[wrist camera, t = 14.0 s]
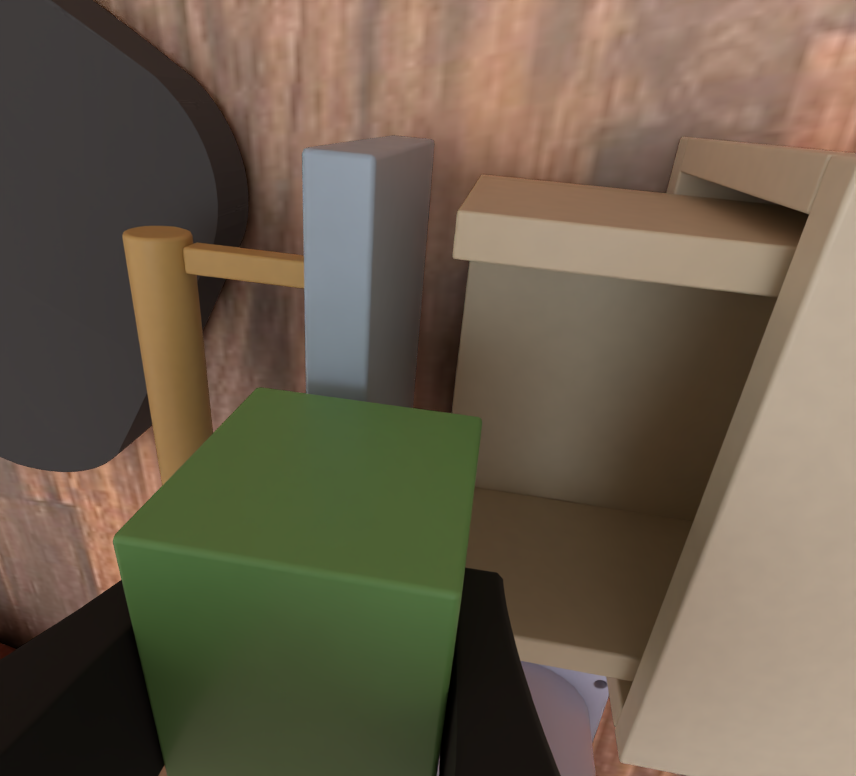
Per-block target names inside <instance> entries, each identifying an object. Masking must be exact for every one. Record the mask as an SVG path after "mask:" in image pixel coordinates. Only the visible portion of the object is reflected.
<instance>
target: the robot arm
mask: <svg viewBox="0 0 856 776" xmlns="http://www.w3.org/2000/svg"><path fill="white" fill-rule="evenodd" d="M608 697H609V691H608V685H607V678H606V676H600V675H595V674H589V673H584V672H579V671H573V670H568V669H562V668H557V667H551V666H546V665H541V664H535V663H530V662H524V661H520V657H519V654H518V650H517V647H516V643H515V639H514V635H513V631H512V627H511V623H510V619H509V614H508V609H507V604H506V598H505V592H504V584H503V578H502V577H501V576H500V575H499V574H498V573H497V572H490V571H484V570H478V569H472V568H466V567H465V573H464V582H463V590H462V598H461V605H460V612H459V620H458V627H457V634H456V641H455V648H454V656H453V663H452V670H451V677H450V684H449V692H448V699H447V706H446V713H445V720H444V728H443V735H442V742H441V749H440V756H439V764H438V771H437V776H596V773H595V764H594V756H593V747H592V742H593V740H594V737H595V734H596V731H597V728H598V725H599V723H600V720H601V717H602V714H603V711H604V708H605V706H606V703H607V700H608ZM163 767H164V760H163V756H162V752H161V747H160V743H159V739H158V734H157V730H156V726H155V721H154V717H153V713H152V709H151V704H150V700H149V696H148V691H147V687H146V683H145V678H144V674H143V670H142V665H141V661H140V657H139V653H138V648H137V644H136V640H135V635H134V631H133V627H132V622H131V618H130V614H129V609H128V605H127V601H126V597H125V592H124V588H123V584H122V580H121V581H119V582H118V583H116V584H115V585H114V586H112V587H111V588H109V589H108V590H106V591H105V592H103V593H102V594H100V595H99V596H98V597H96V598H95V599H93V600H92V601H90V602H89V603H87V604H86V605H84V606H83V607H82V608H80V609H79V610H77V611H76V612H74V613H72V614H71V615H69V616H68V617H66V618H65V619H63V620H62V621H60V622H58V623H57V624H55V625H54V626H52V627H51V628H49V629H47V630H46V631H44V632H43V633H41V634H40V635H38V636H37V637H35V638H33V639H32V640H30V641H29V642H27V643H26V644H24V645H23V646H21V647H19V648H18V649H16V650H15V651H13V652H12V653H10V654H8V655H7V656H5V657H4V658H2V659H0V776H159V774H160V772H161V770H162V769H163Z"/></svg>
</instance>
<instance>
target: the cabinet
mask: <svg viewBox="0 0 856 776" xmlns="http://www.w3.org/2000/svg"><path fill="white" fill-rule="evenodd" d="M666 193H668V194H678V195H687V196H697V197H707V198H716V199H726V200H736V201H745V202H755V203H765V204H774V205H782V206H785V207H788V208H791V209H794V210H797V211H800V212H803V213H806V214H809V216H808V219H807V222H806V224H805V227H804V229H803V232H802V235H801V237H800V240H799V243H798V245H797V248H796V251H795V253H794V256H793V259H792V261H791V264H790V267H789V269H788V272H787V275H786V277H785V280H784V283H783V285H782V288H781V290H780V293H779V296H778V298H777V301H776V304H775V306H774V309H773V312H772V314H771V317H770V320H769V322H768V325H767V328H766V330H765V333H764V336H763V338H762V341H761V344H760V346H759V349H758V351H757V354H756V357H755V359H754V362H753V365H752V367H751V370H750V373H749V375H748V378H747V381H746V383H745V386H744V389H743V391H742V394H741V397H740V399H739V402H738V404H737V407H736V410H735V412H734V415H733V418H732V420H731V423H730V426H729V428H728V431H727V434H726V436H725V439H724V442H723V444H722V447H721V450H720V452H719V455H718V458H717V460H716V463H715V465H714V468H713V471H712V473H711V476H710V479H709V481H708V484H707V487H706V489H705V492H704V495H703V497H702V500H701V503H700V505H699V508H698V511H697V513H696V516H695V519H694V521H693V524H692V526H691V529H690V532H689V534H688V537H687V540H686V542H685V545H684V548H683V550H682V553H681V556H680V558H679V561H678V564H677V566H676V569H675V572H674V574H673V577H672V580H671V582H670V585H669V587H668V590H667V593H666V595H665V598H664V601H663V603H662V606H661V609H660V611H659V614H658V617H657V619H656V622H655V625H654V627H653V630H652V633H651V635H650V638H649V641H648V643H647V646H646V648H645V651H644V654H643V656H642V659H641V662H640V664H639V667H638V670H637V672H636V675H635V678H634V680H633V681H627V680H622V679H617V678H611V677H606V678H607V685H608V691H609V697H610V704H611V710H612V717H613V723H614V726H615V727H616V728H615V735H616V742H617V748H618V754H619V760H620V762H622V763H625V764H630V765H635V766H640V767H645V768H650V769H655V770H660V771H665V772H670V773H675V774H680V775H685V776H856V153H852V152H842V151H831V150H821V149H810V148H799V147H789V146H778V145H767V144H757V143H746V142H735V141H725V140H714V139H703V138H693V137H681V139H680V142H679V146H678V150H677V153H676V157H675V161H674V165H673V169H672V173H671V176H670V180H669V184H668V188H667V192H666Z"/></svg>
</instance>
